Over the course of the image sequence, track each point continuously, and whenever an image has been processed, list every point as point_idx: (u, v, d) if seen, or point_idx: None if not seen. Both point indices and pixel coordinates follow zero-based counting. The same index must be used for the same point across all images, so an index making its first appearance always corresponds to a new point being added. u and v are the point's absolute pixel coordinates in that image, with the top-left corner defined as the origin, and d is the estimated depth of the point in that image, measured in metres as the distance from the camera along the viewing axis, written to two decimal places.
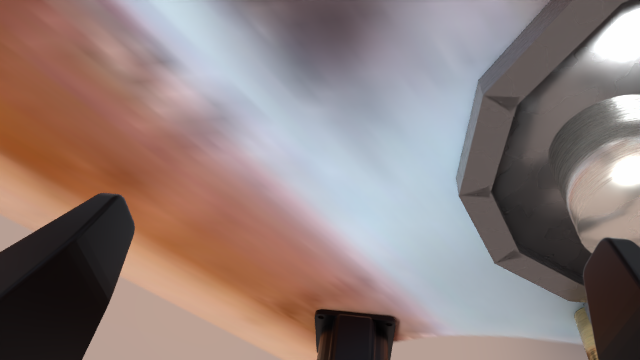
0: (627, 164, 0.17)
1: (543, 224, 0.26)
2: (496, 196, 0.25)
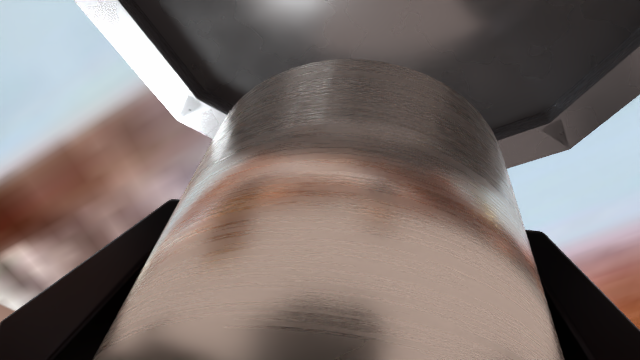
0: None
1: (511, 84, 0.18)
2: None
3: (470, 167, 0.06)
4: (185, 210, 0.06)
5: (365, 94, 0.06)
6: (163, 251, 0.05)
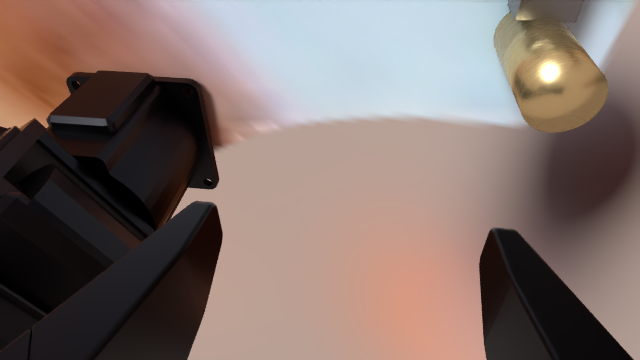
0: None
1: None
2: None
3: None
4: None
5: None
6: None
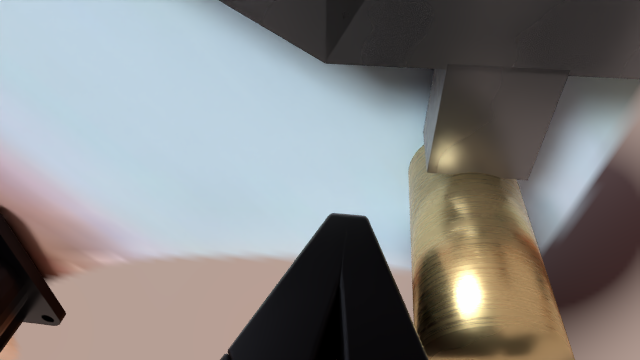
0: None
1: None
2: None
3: None
4: None
5: None
6: None
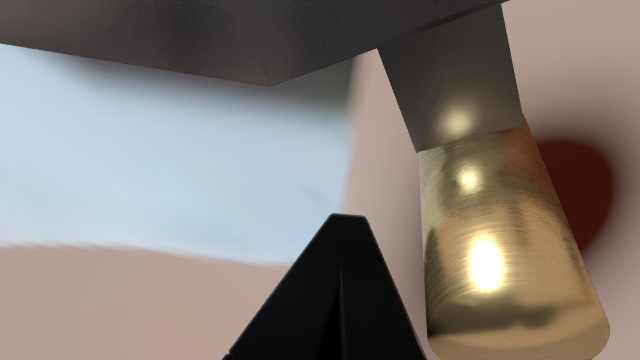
0: None
1: None
2: None
3: None
4: None
5: None
6: None
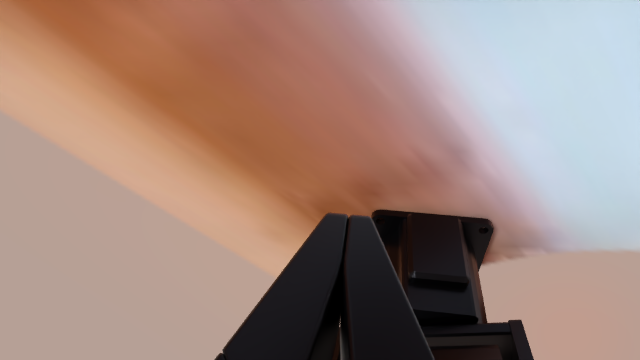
0: None
1: None
2: None
3: None
4: None
5: None
6: None
